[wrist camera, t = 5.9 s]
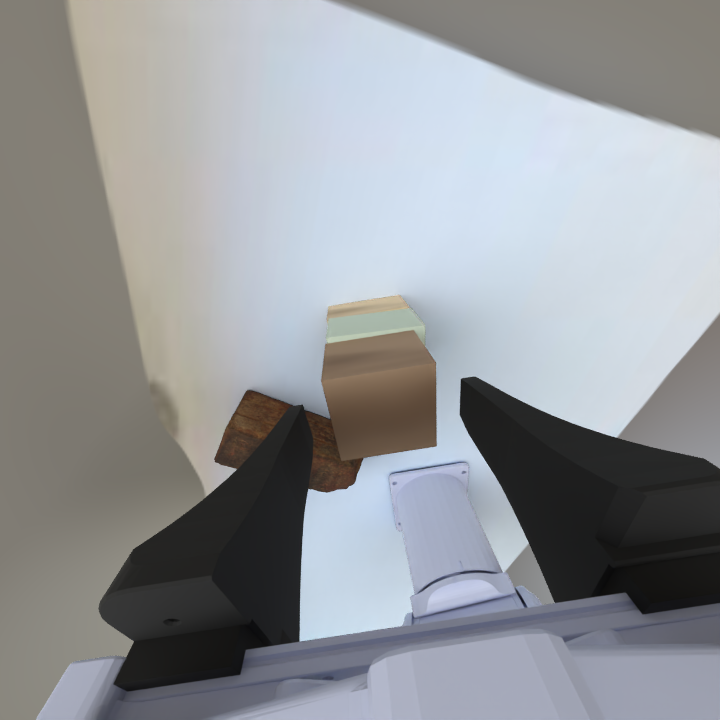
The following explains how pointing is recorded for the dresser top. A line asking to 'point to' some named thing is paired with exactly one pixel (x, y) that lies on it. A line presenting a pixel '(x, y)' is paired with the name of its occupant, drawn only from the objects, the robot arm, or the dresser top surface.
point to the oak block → (367, 307)
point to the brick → (259, 420)
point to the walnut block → (380, 394)
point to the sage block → (374, 325)
